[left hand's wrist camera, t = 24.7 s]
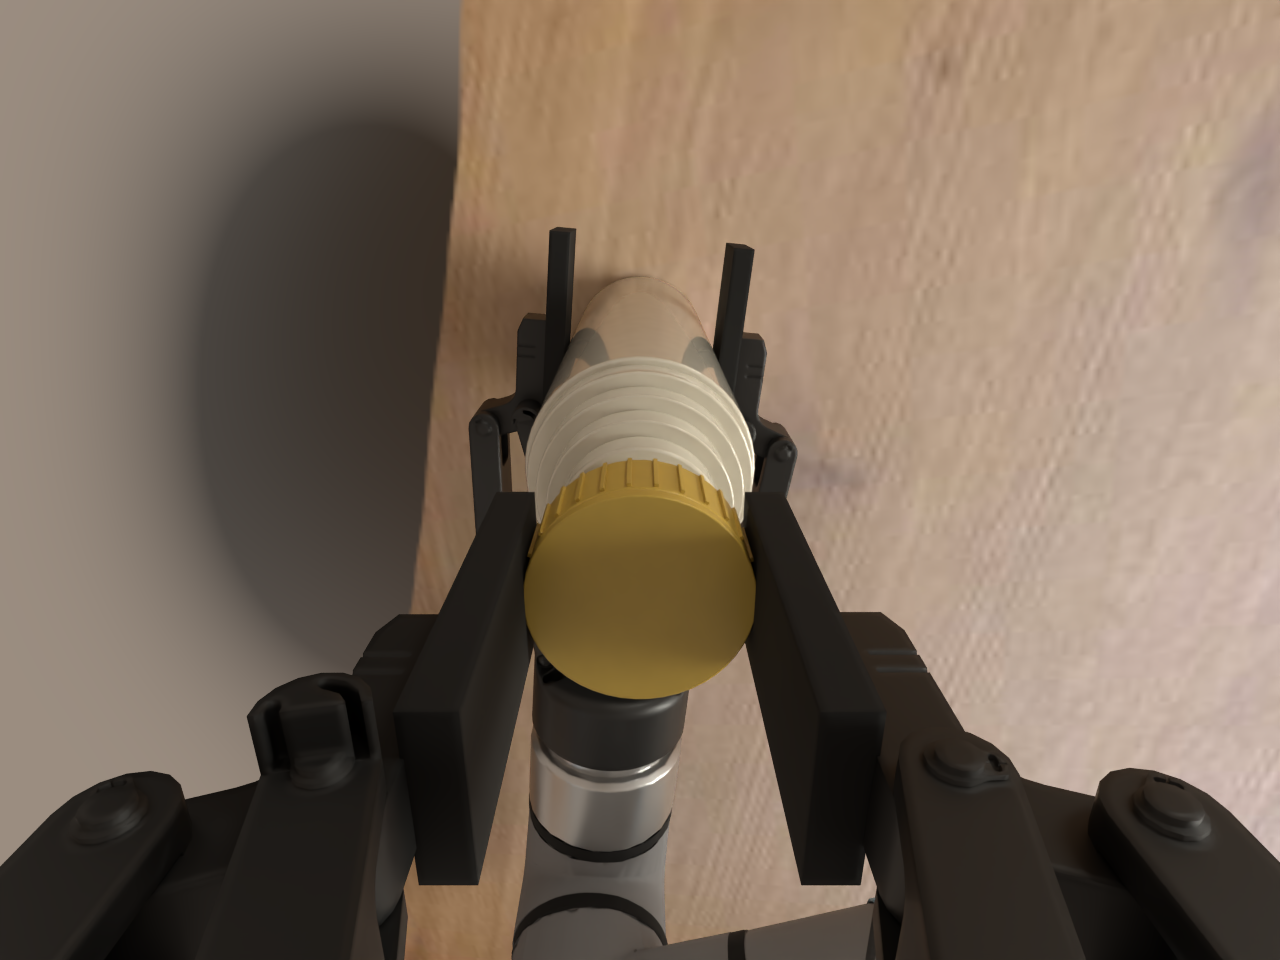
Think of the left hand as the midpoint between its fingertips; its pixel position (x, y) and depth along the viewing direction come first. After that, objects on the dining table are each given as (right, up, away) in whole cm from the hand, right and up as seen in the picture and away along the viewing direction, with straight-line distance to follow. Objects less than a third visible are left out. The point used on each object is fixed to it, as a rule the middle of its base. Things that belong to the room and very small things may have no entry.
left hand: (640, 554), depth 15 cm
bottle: (0, +8, +21) cm, 23 cm away
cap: (0, -1, -1) cm, 2 cm away
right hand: (0, +11, +13) cm, 17 cm away
